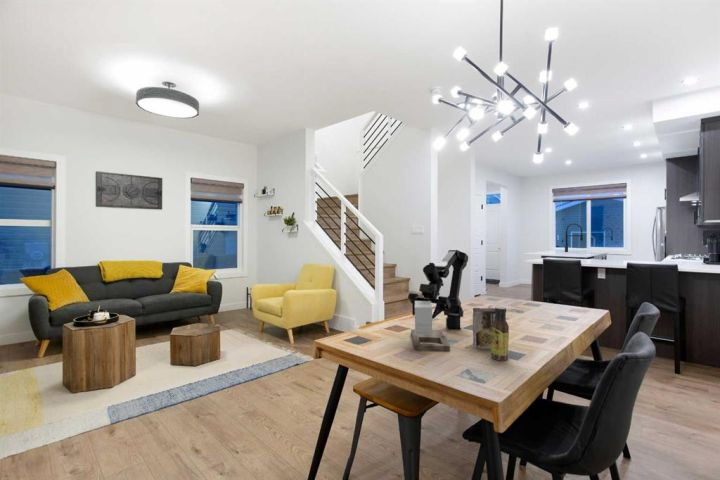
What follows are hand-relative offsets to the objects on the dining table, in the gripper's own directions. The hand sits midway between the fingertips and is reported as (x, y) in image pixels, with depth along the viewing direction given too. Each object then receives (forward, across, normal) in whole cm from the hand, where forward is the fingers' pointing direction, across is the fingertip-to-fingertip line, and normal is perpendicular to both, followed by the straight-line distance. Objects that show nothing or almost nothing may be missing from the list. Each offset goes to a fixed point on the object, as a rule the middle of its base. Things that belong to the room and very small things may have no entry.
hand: (422, 316), depth 155 cm
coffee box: (-1, +22, +18) cm, 29 cm away
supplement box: (+4, 0, +6) cm, 7 cm away
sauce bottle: (+7, +32, +11) cm, 34 cm away
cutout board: (+5, 0, +13) cm, 13 cm away
